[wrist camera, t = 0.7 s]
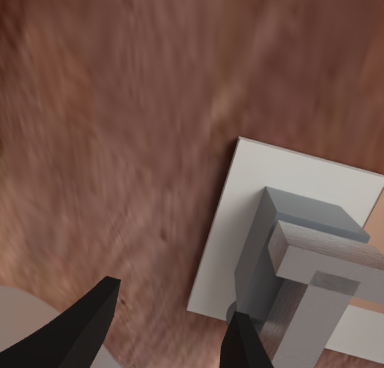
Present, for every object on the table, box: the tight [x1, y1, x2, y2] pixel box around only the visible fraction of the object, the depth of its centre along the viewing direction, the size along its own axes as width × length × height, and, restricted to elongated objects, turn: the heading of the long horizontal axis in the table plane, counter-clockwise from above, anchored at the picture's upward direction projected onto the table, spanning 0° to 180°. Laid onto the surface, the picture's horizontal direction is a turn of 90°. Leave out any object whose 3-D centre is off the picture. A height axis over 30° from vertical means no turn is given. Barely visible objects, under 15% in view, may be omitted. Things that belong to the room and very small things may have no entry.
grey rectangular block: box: [234, 186, 370, 321], centre depth 18 cm, size 5×7×4 cm
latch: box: [250, 220, 384, 368], centre depth 17 cm, size 5×12×8 cm, turn 166°
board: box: [187, 136, 384, 364], centre depth 21 cm, size 18×15×1 cm
